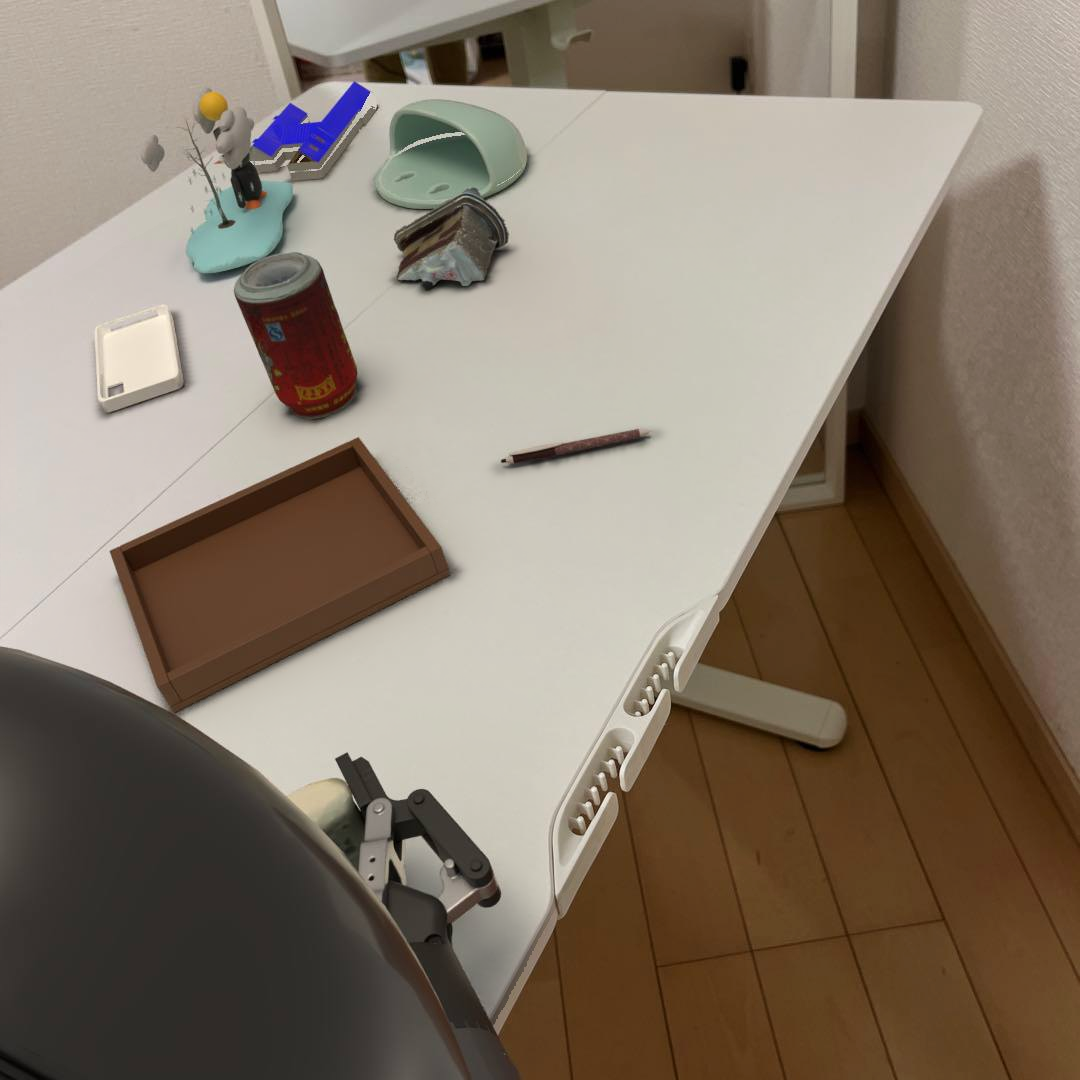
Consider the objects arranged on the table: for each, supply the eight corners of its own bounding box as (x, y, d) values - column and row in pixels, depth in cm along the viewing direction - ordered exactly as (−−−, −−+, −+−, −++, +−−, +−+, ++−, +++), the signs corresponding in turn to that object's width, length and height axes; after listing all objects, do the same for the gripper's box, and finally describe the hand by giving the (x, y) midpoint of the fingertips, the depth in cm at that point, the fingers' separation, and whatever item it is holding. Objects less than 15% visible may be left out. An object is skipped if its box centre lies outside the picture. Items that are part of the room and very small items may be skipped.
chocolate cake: (370, 295, 106) (420, 223, 96) (388, 241, 109) (438, 166, 99) (458, 338, 109) (515, 273, 99) (473, 284, 112) (529, 216, 103)
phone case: (185, 387, 98) (172, 313, 110) (179, 375, 98) (166, 301, 109) (104, 415, 98) (99, 337, 109) (97, 402, 97) (93, 326, 108)
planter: (550, 92, 115) (429, 156, 108) (562, 159, 120) (447, 224, 113) (441, 67, 127) (326, 123, 120) (456, 129, 132) (346, 186, 125)
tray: (173, 713, 69) (156, 687, 67) (124, 576, 80) (108, 550, 79) (450, 574, 74) (441, 546, 72) (368, 463, 85) (358, 436, 83)
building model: (298, 115, 145) (289, 88, 143) (378, 106, 142) (370, 79, 139) (238, 185, 131) (227, 157, 129) (325, 178, 128) (315, 148, 126)
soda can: (273, 394, 95) (221, 267, 87) (350, 364, 96) (305, 236, 88) (293, 435, 90) (240, 303, 82) (374, 402, 91) (329, 270, 83)
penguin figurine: (220, 202, 128) (167, 70, 118) (308, 186, 127) (262, 52, 117) (176, 289, 114) (112, 147, 104) (275, 272, 112) (219, 127, 102)
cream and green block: (355, 965, 53) (302, 877, 48) (267, 937, 55) (206, 850, 50) (407, 862, 57) (362, 770, 52) (322, 840, 59) (271, 749, 54)
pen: (502, 469, 81) (499, 458, 80) (501, 462, 82) (499, 452, 81) (653, 437, 81) (651, 426, 80) (651, 431, 81) (650, 420, 81)
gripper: (565, 955, 41) (397, 678, 53) (202, 1176, 38) (110, 826, 50) (594, 1042, 46) (435, 771, 58) (276, 1245, 43) (176, 911, 55)
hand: (286, 797), depth 54 cm, fingers closed on cream and green block, 5 cm apart
